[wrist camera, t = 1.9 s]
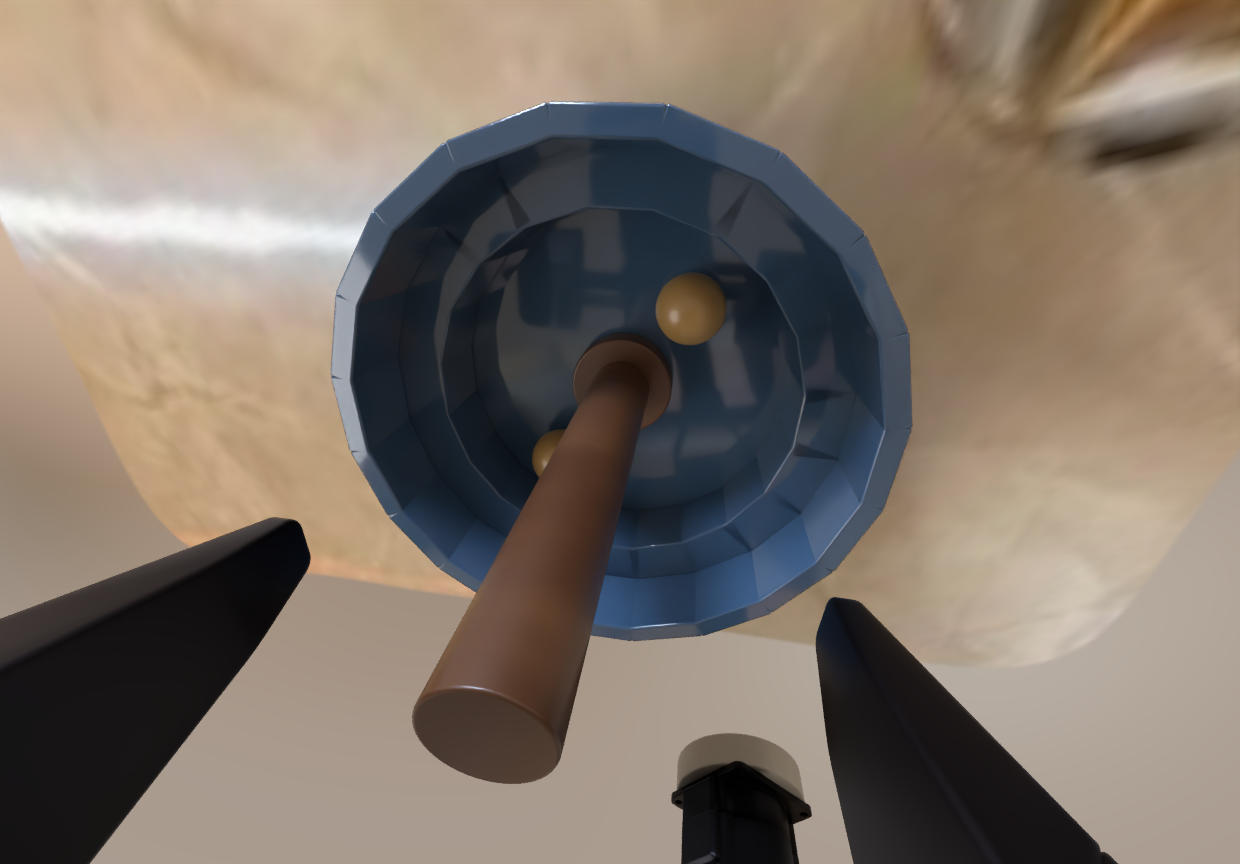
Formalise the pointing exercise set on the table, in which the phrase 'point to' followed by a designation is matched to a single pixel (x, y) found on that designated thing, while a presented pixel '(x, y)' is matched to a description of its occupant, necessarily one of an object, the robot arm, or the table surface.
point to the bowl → (625, 303)
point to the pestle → (545, 582)
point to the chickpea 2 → (691, 308)
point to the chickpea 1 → (545, 449)
